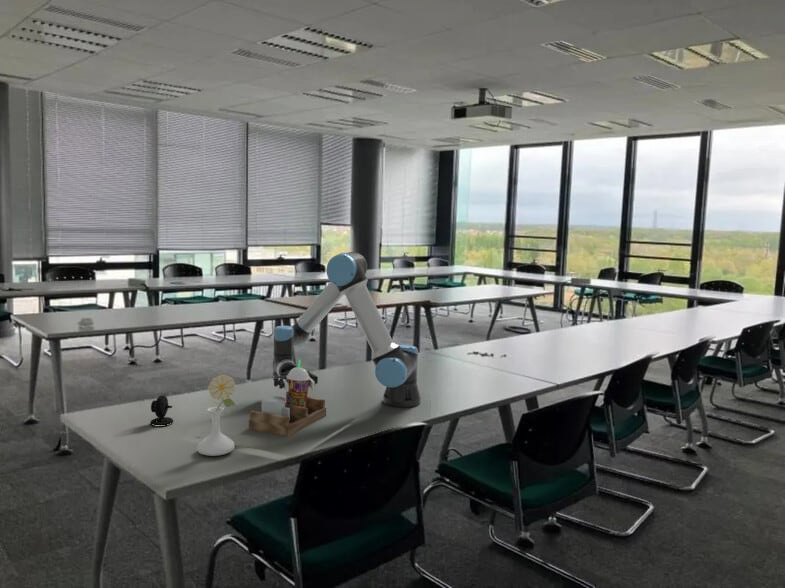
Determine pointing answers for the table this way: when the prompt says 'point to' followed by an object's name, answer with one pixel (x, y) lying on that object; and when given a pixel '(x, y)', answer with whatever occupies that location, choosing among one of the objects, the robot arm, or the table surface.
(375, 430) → the table surface
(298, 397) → the smoothie
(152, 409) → the webcam
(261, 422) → the rack
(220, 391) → the flower in vase
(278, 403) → the mug
